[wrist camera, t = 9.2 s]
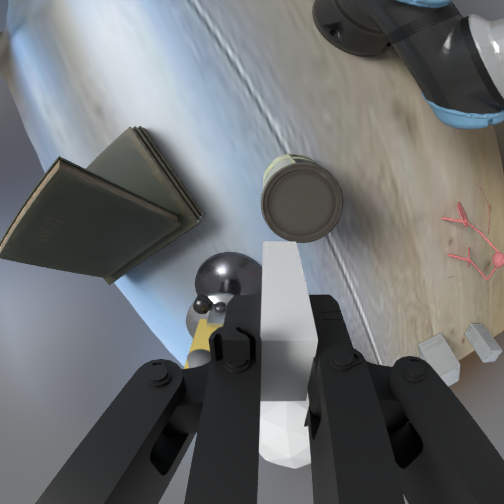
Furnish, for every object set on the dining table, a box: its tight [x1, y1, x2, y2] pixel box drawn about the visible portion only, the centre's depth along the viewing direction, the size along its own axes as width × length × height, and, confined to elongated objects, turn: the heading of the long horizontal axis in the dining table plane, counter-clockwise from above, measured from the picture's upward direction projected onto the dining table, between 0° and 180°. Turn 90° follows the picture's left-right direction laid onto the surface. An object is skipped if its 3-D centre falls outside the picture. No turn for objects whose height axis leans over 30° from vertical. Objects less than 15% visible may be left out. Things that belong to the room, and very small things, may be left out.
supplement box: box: [418, 333, 460, 386], centre depth 57 cm, size 7×7×13 cm
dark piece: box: [0, 126, 205, 285], centre depth 39 cm, size 23×20×25 cm
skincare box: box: [465, 323, 502, 363], centre depth 55 cm, size 6×4×12 cm
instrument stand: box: [186, 252, 262, 339], centre depth 49 cm, size 14×14×17 cm
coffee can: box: [261, 153, 343, 243], centre depth 41 cm, size 10×10×14 cm
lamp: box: [259, 394, 311, 469], centre depth 60 cm, size 22×34×24 cm, turn 121°
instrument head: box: [184, 319, 219, 369], centre depth 37 cm, size 6×9×13 cm, turn 0°
